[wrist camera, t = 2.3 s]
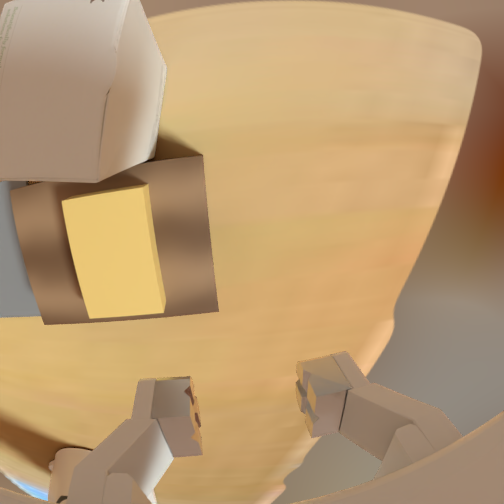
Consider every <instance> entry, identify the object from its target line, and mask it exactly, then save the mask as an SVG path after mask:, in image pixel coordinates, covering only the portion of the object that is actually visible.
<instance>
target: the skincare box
mask: <svg viewBox="0 0 504 504" xmlns="http://www.w3.org/2000/svg"><path fill="white" fill-rule="evenodd" d="M166 73H167V66H166V64H165V62H164V60H163V57H162V55H161V52H160V50H159V48H158V45H157V43H156V40H155V38H154V35H153V33H152V30H151V28H150V25H149V23H148V20H147V18H146V15H145V13H144V10H143V8H142V5H141V3H140V0H14V1H11V2H8V3H5V5H4V7H3V10H2V13H1V16H0V180H2V181H52V182H83V183H97V182H100V181H102V180H104V179H106V178H108V177H110V176H112V175H115V174H117V173H119V172H121V171H123V170H125V169H128V168H130V167H133V166H135V165H137V164H140V163H142V162H144V161H147V160H149V159H152V158H154V157H155V152H156V144H157V137H158V129H159V121H160V114H161V107H162V100H163V93H164V87H165V80H166Z"/></svg>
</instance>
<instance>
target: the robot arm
mask: <svg viewBox="0 0 504 504" xmlns="http://www.w3.org/2000/svg"><path fill="white" fill-rule="evenodd" d="M296 373H297V375H298V378H299V380H298V381H297V382H296V396H297V401H298V405H299V408H300V410H301V412H303V413H304V414H306V416H305V423H306V426H307V428H308V431H309V433H310V435H311V438H314V437H319V436H323V435H327V434H332V433H336V432H339V433H340V434H342V435H343V436H344V437H346V438H348V439H349V440H350V441H352V442H353V443H355V444H356V445H358V446H359V447H361V448H362V449H364V450H366V451H367V452H369V453H370V454H372V455H373V456H375V457H376V458H378V459H380V460H381V461H382V463H381V465H380V467H379V469H378V471H377V473H376V475H375V477H374V480H371V481H368V482H365V483H363V484H360V485H357V486H354V487H351V488H348V489H344V490H341V491H338V492H335V493H331V494H328V495H324V496H320V497H317V498H313V499H308V500H304V501H300V502H296V503H291V504H504V411H503V412H501V413H500V414H499V415H497V416H495V417H494V418H492V419H491V420H490V421H488V422H486V423H485V424H483V425H482V426H480V427H479V428H477V429H476V430H474V431H472V432H471V433H469V434H467V435H466V436H464V437H463V436H462V435H461V434H460V433H459V432H458V430H457V429H456V428H455V426H454V425H453V424H452V423H451V422H450V420H449V419H448V418H447V417H446V415H445V414H444V413H443V412H442V410H441V409H439V408H436V407H433V406H431V405H428V404H425V403H423V402H420V401H418V400H415V399H413V398H410V397H407V396H405V395H403V394H400V393H398V392H395V391H393V390H390V389H388V388H386V387H383V386H381V385H379V384H376V383H372V384H370V383H369V382H368V380H367V379H366V377H365V376H364V374H363V373H362V372H361V370H360V369H359V367H358V366H357V364H356V363H355V362H354V360H353V359H352V357H351V356H350V355H349V353H348V352H346V351H343V352H339V353H335V354H331V355H328V356H323V357H319V358H314V359H309V360H304V361H299V362H297V365H296ZM200 427H201V420H200V412H199V406H198V401H197V397H196V396H195V395H194V385H193V381H192V378H191V376H188V377H170V378H157V379H156V378H152V379H140V380H139V382H138V385H137V390H136V395H135V401H134V406H133V412H132V417H131V419H126V420H125V421H124V422H123V423H122V424H121V425H120V426H119V427H118V428H116V429H115V430H114V431H113V432H112V433H111V434H110V435H109V436H108V437H107V438H106V439H105V440H104V441H103V442H101V443H100V444H99V445H98V446H97V447H96V448H95V449H94V450H93V451H90V450H85V449H79V448H64V449H61V450H59V451H58V452H57V453H56V455H55V459H54V460H53V461H51V462H50V463H49V469H50V470H51V471H52V473H51V479H50V485H49V493H48V501H45V500H41V499H38V498H34V497H30V496H27V495H24V494H20V493H17V492H14V491H11V490H8V489H5V488H2V487H0V504H157V501H156V497H155V493H154V487H155V486H156V484H157V483H158V481H159V480H160V478H161V477H162V476H163V474H164V473H165V471H166V470H167V468H168V467H169V465H170V464H171V462H172V461H173V459H174V458H173V457H186V456H198V455H203V453H202V437H201V434H200V430H199V428H200Z"/></svg>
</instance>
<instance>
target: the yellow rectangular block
mask: <svg viewBox="0 0 504 504" xmlns="http://www.w3.org/2000/svg"><path fill="white" fill-rule="evenodd" d="M62 207H63V213H64V218H65V224H66V229H67V234H68V239H69V243H70V248H71V253H72V257H73V261H74V265H75V269H76V273H77V277H78V281H79V285H80V288H81V292H82V295H83V299H84V302H85V305H86V309H87V312H88V315H89V318H90V319H92V318H107V317H121V316H134V315H146V314H157V313H164V309H165V304H166V297H165V292H164V286H163V281H162V275H161V270H160V264H159V258H158V252H157V246H156V239H155V233H154V226H153V219H152V211H151V203H150V195H149V187H148V184H144V185H137V186H130V187H124V188H117V189H111V190H105V191H99V192H93V193H87V194H82V195H76V196H72V197H69V198H67V199H65V200H63V201H62Z"/></svg>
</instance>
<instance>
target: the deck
mask: <svg viewBox="0 0 504 504" xmlns="http://www.w3.org/2000/svg"><path fill="white" fill-rule="evenodd" d="M144 184H148V187H149V195H150V203H151V211H152V219H153V226H154V233H155V239H156V246H157V252H158V258H159V264H160V270H161V275H162V281H163V286H164V292H165V297H166V304H165V309H164V313H157V314H146V315H134V316H121V317H107V318H92V319H90V318H89V315H88V312H87V309H86V305H85V302H84V299H83V295H82V292H81V288H80V285H79V281H78V277H77V273H76V269H75V265H74V261H73V257H72V253H71V248H70V243H69V239H68V234H67V229H66V224H65V218H64V213H63V207H62V201H63V200H65V199H67V198H69V197H72V196H76V195H82V194H87V193H93V192H99V191H105V190H111V189H117V188H124V187H130V186H137V185H144ZM10 196H11V202H12V208H13V214H14V219H15V224H16V229H17V234H18V238H19V243H20V247H21V251H22V255H23V259H24V263H25V266H26V270H27V274H28V277H29V280H30V284H31V287H32V290H33V293H34V296H35V299H36V302H37V305H38V308H39V311H40V314H41V317H42V319H43V322H44V325H53V324H76V323H94V322H110V321H124V320H137V319H150V318H161V317H172V316H182V315H192V314H201V313H210V312H219V309H218V301H217V292H216V284H215V275H214V267H213V258H212V248H211V239H210V229H209V219H208V209H207V198H206V187H205V175H204V163H203V155H198V156H188V157H180V158H171V159H163V160H156V161H149V162H142V163H140V164H137V165H135V166H133V167H130V168H128V169H125V170H123V171H121V172H119V173H117V174H115V175H112V176H110V177H108V178H106V179H104V180H102V181H100V182H97V183H83V182H52V181H42V182H38V183H34V184H30V185H27V186H23V187H20V188H17V189H14V190H10Z"/></svg>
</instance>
